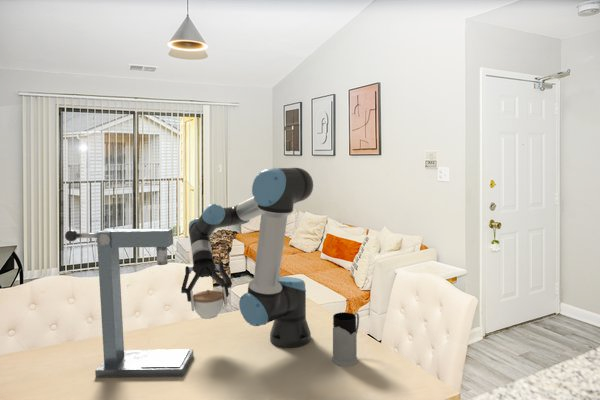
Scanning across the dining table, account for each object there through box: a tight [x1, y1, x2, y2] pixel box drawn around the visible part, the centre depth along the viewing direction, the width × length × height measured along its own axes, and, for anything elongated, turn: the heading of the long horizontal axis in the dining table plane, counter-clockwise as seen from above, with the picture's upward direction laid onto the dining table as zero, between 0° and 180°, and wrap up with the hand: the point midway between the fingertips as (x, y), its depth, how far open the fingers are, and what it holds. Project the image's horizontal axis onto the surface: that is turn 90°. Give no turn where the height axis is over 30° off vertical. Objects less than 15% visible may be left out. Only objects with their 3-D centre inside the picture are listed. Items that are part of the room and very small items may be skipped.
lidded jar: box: [193, 289, 224, 320], centre depth 155 cm, size 11×11×9 cm
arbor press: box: [64, 228, 194, 379], centre depth 139 cm, size 37×14×45 cm, turn 90°
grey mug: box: [331, 311, 360, 367], centre depth 146 cm, size 9×14×15 cm, turn 145°
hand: (209, 307), depth 152 cm, fingers closed on lidded jar, 11 cm apart
